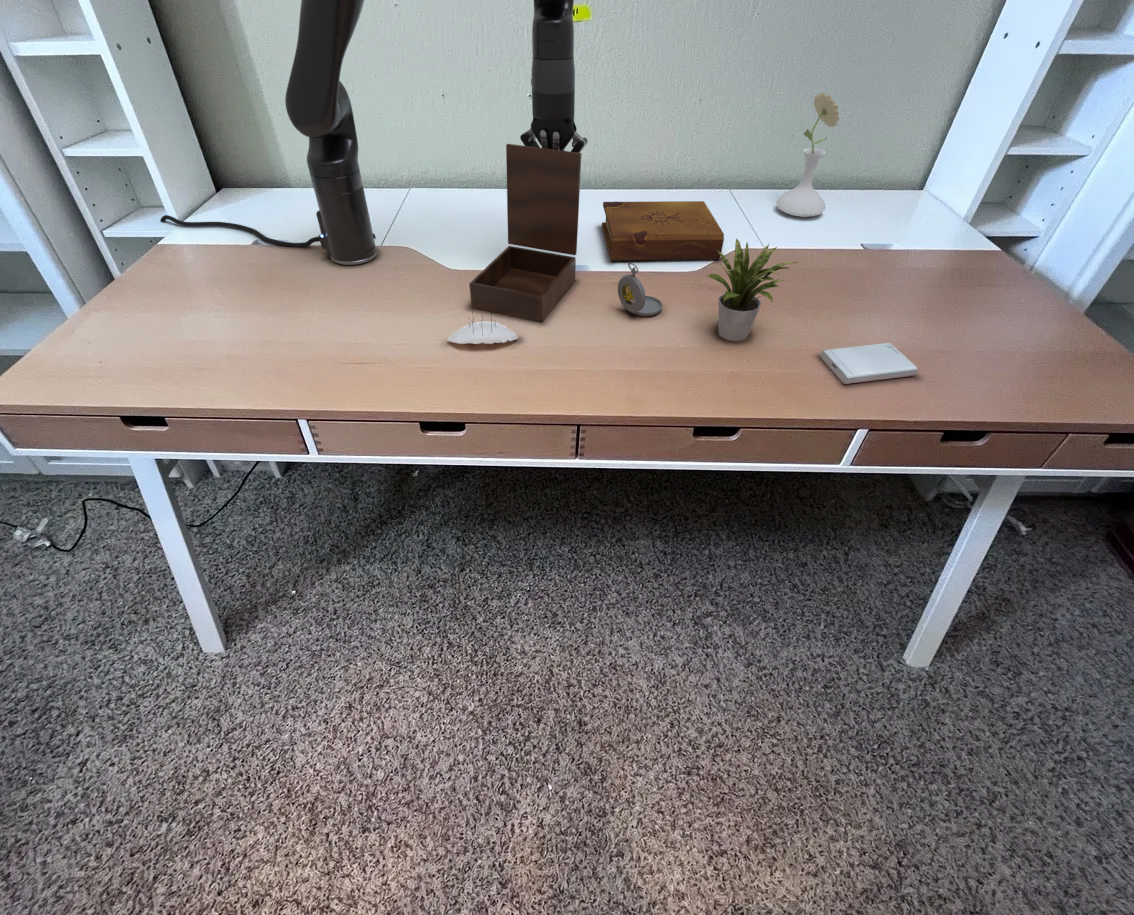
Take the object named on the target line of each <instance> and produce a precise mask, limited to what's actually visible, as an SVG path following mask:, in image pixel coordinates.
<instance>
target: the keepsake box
mask: <svg viewBox="0 0 1134 915" xmlns="http://www.w3.org/2000/svg"><path fill="white" fill-rule="evenodd" d="M576 261H577V258H576V256H572V255H566V254H561V253H555V252H549V251H543V250H537V249H532V248H526V247H520V246H514V245H512V246H511V245H508V246H507V247H506V248H505V249H503V251H502V252H501V253H499V255H498V256H496V257H495V258H494V259H493V260H492V261H491V262H490V263H489V264H488V265H487V266H486V267H485V268H484V269H482V271H481V272H480V273H478V275H476V276H475V278H473V279H472V280H471V281H470V282H469V284H468V285H469V293H470V303H471V309H472V310H473V309H474V310H478V311H482V312H483V311H484V312H488V313H493V314H499V315H502V316H507V317H512V318H518V319H523V320H528V321H532V322H537V323H540V324H541V323H542V324H543V323H544V322H545V320H546V319H547V317H549V315H550V314H551V313H552V311H554V309H555V308H556V306H557V305H558V304H559V303H560V301H561V300H562V299H563V298H564V296H565V295H566V294H567V292H569V290H570V289H571V287H572V286H573V285H574V283H575V282H576V265H577V262H576ZM481 306H482V309H481Z"/></svg>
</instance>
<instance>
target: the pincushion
mask: <svg viewBox="0 0 1134 915" xmlns="http://www.w3.org/2000/svg"><path fill="white" fill-rule="evenodd" d="M481 309H482V306H481ZM471 312H472V314H474V311H473V309H472V310H471ZM481 318H482V319H481V320H480V321H476V322H475V321H474V318H472V321H471V323H468V324H466V325H464V326H461V327H460V328H459V329H458V330H456V331H454V333H452V334H451V335H450V336H448V338H447V340H446V341H447V342H450V343H455V344H459V345H466V344H473V346H474V347H475V346H476V345H477V344H482V345H483V346H485V344H488V345H489V344H490V345H492V346H494V344H495V343H497V344H500V343H502V344H504V343H507V341H508V342H512V341H514V340H519V337H518V335H517V334H516V332H514V331H513V330H512V329H510V328H509V327H508V326H505V325H503V323H499V322H497V321H493V319H492V315H490V321H488V320H487V321H486V320H485V321H484V316H483V315H481ZM468 319H470V317H468Z"/></svg>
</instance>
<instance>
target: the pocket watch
mask: <svg viewBox="0 0 1134 915" xmlns="http://www.w3.org/2000/svg"><path fill="white" fill-rule="evenodd" d="M630 265H632V266H633V267H631V266H630ZM627 267H628V268H629V270H630V272H631V273H630V274H626V275H624V276H622V277H621V278H620V279H619V280H618V284H617V295H618V298H619V302H620V303H621V305H622V306H623V307H624V308H625V309H626V310H627V311H629V312H630V313H632V314H634V315H635V316H640V317H649V316H650V317H651V316H655V315H657V314H659V313H660V312H661V311H662V310H663V303H662V301H661V299H658V298H657V297H654V296H651V295H646V291H645V288H644V286H643V284H642V282H641V280H640V279H639V278H638V277H637V276H636V274H637V273H639V268H638V266H637V265H636V264H635V263H632V262H628V264H627Z"/></svg>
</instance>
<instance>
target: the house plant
mask: <svg viewBox="0 0 1134 915" xmlns="http://www.w3.org/2000/svg"><path fill="white" fill-rule="evenodd" d="M734 245H735V246H734V257H733V259H734V260H733V268H732V266H731V263H730V261H729V260H728V258H727V257H726V256H725V255H724V254H723V252H719V251H718V250H717V251H718V253H719V254H720V256H721V257H720V258H721V260H722V262H723V264H724V265H725V267H726V268H725V267H724V266H723V265H722V264H720V267H721V268H722V269H723V270H724V272H725V273H726V274H727V276H728V279H729V281H730V284H731V287H730V285H729V283H728V282H727V281H726V279H724V277H722V276H721V275H719V274H718V273H708V274H707V275H706V277H708V278H710V279H711V280H715V281H717V282H719V283H720V284H722V285H723V286H724V287H725V288H726V290H725V292H724V293H722V294H721V295H720V296H719V298H718V317H717V318H718V322H717V323H718V324H717V325H718V330H717V331H718V336H720V338H722V339H723V340H726V341H729V342H741V341H744V340H746V339H747V338H748V336H749V334H750V331H751V329H752V327H753V324H754V322H755V320H756V317H757V315H758V314H759V311H760V308H761V306H762V303H761V300H760V299H759V298H761V297H765V298H767V299H768V300H770V301H771V304H774V301H773V300H774V299H773V295H772V294H771V293H770V292H769V291H766V290H769V289H772V288H780V285H778V282H785V281H786V279H775V278H773V277H771V276H770V275H771V274H775V275H779V276H781V274H780V273H779V272H778V271H779V270H788V269H789V267H787V266H786V265H793V264H797V263H799V261H787V262H786V261H785V262H781V263H777V264H775V265H773V266H771V267H768V268H764V266H766V264H767V263H768V261H769V260H770V257H771V256H772V254H773V253H774V252H775V251H776V250H777V248H778V246H776V247H773V248H771V249H769V246H770V243H768V244H767V245H766V246H765V247H764V248H763V249H762V251H761V252H760V254H759V255H758V256H757V257H756V258H755V259H754V260H753V262H752V263H751V265H750V252H749V243H748V242H746V243H745V249H744V250H743V248H742V247H741V242H740V240H739V239H738V238H736V239H735V244H734ZM768 249H769V250H768ZM749 266H750V267H749ZM765 281H769V282H765ZM762 282H764V283H763V284H761V283H762ZM758 294H760V296H757V295H758Z"/></svg>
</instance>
